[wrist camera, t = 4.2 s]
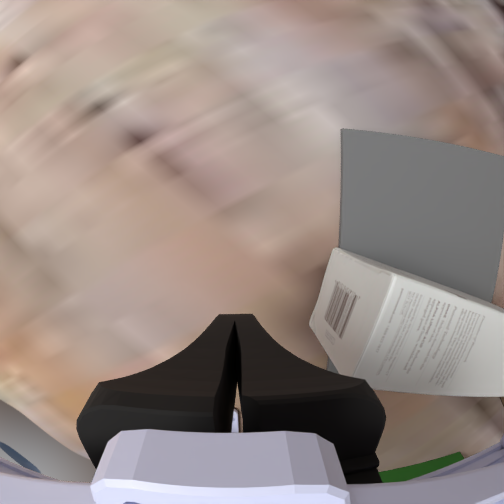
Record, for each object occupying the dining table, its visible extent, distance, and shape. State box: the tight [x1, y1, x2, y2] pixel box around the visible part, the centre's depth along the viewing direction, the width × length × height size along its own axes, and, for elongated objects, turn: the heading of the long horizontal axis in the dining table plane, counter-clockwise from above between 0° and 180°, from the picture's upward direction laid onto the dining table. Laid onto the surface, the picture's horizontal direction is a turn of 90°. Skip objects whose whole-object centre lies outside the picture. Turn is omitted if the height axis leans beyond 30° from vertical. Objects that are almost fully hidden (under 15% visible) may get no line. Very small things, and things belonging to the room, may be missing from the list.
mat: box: [327, 129, 504, 374], centre depth 21 cm, size 18×16×1 cm
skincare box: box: [309, 247, 504, 397], centre depth 17 cm, size 8×6×15 cm
